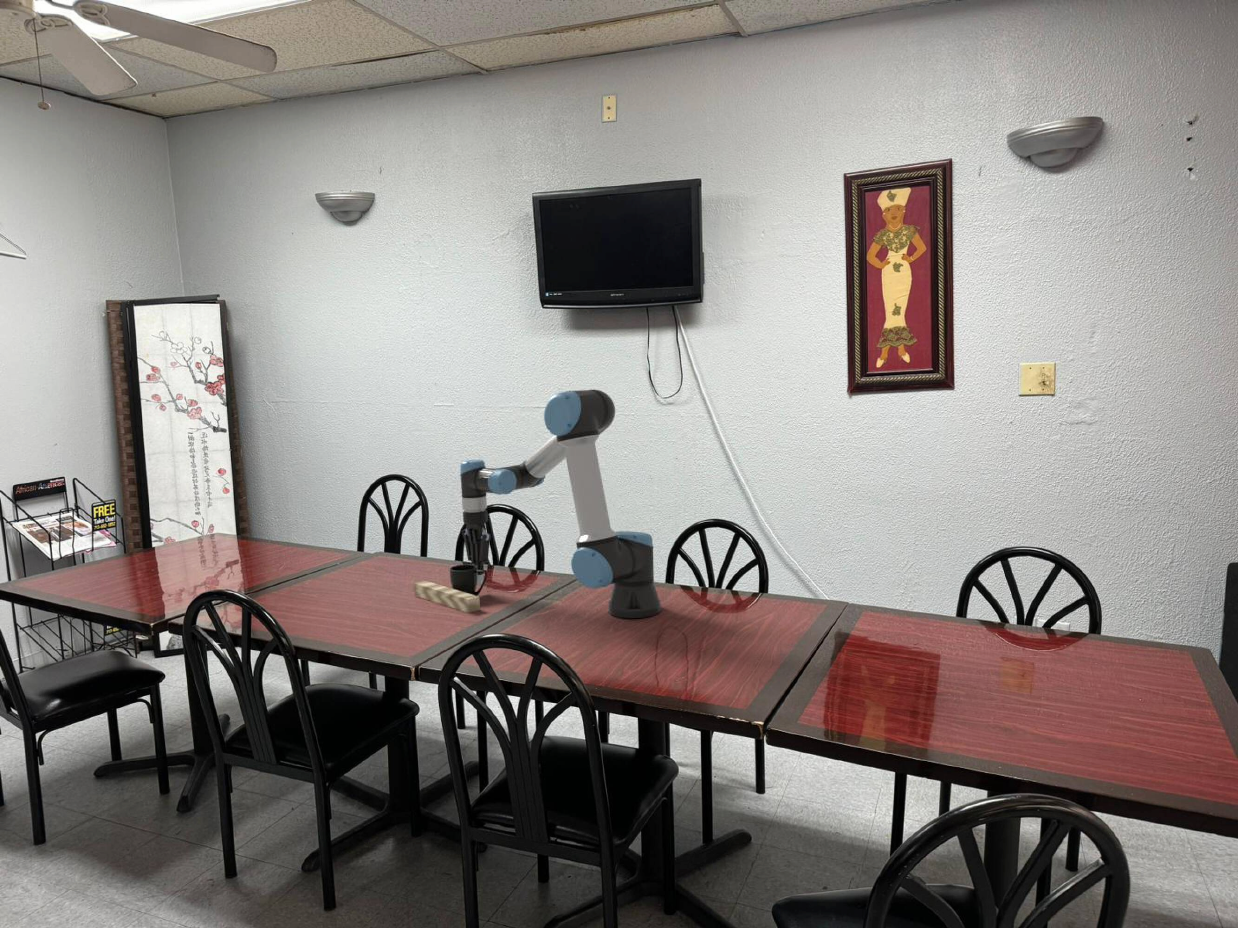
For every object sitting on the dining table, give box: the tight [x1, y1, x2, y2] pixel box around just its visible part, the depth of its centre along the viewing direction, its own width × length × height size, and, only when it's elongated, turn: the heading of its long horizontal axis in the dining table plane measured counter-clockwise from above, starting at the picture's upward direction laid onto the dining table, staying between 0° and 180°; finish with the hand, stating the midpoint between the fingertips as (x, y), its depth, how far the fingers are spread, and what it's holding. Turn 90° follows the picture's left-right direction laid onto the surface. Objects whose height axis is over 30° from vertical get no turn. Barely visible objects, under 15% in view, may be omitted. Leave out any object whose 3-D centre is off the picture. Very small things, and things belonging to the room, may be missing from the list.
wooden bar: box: [413, 580, 481, 614], centre depth 268 cm, size 30×4×4 cm, turn 43°
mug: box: [449, 563, 489, 596], centre depth 272 cm, size 8×12×10 cm
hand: (479, 584), depth 276 cm, fingers closed
